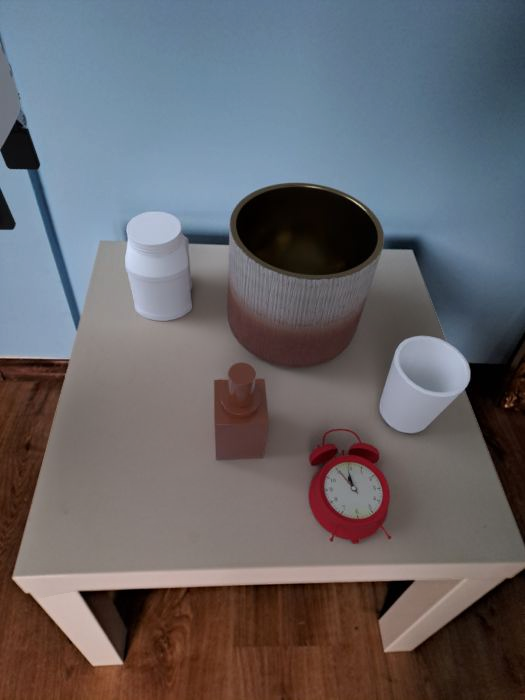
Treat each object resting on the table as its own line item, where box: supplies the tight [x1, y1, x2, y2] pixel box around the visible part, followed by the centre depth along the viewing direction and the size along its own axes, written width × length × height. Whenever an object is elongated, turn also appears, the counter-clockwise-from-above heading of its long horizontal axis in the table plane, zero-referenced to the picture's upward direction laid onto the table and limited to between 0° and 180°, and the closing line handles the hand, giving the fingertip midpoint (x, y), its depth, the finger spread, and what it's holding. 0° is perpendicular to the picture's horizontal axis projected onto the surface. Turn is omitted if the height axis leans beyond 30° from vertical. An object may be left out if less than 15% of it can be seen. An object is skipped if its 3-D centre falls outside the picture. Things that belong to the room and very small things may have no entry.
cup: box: [378, 335, 471, 435], centre depth 64 cm, size 10×10×13 cm
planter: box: [227, 182, 385, 369], centre depth 72 cm, size 22×22×20 cm
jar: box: [124, 210, 193, 322], centre depth 75 cm, size 12×10×15 cm
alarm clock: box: [308, 428, 392, 545], centre depth 60 cm, size 10×6×15 cm
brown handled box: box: [213, 362, 269, 461], centre depth 60 cm, size 7×9×16 cm
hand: (12, 195), depth 44 cm, fingers open, 9 cm apart
